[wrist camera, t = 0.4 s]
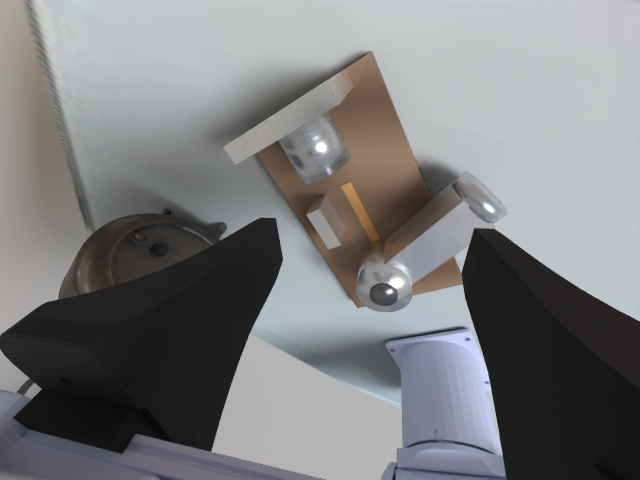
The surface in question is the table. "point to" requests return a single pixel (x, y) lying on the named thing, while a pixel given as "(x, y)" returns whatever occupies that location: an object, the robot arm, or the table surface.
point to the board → (363, 181)
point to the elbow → (425, 242)
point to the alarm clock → (132, 252)
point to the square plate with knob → (306, 146)
